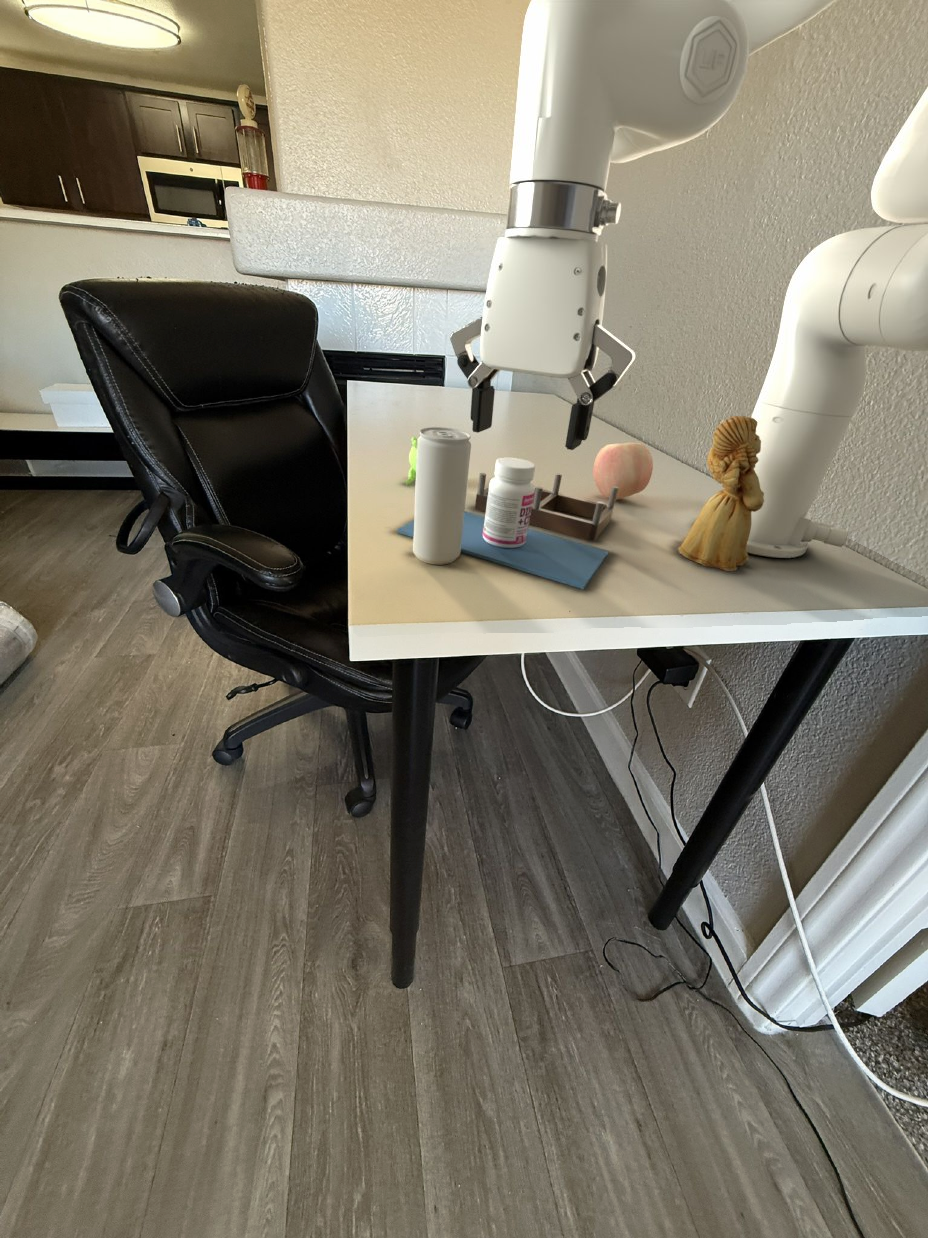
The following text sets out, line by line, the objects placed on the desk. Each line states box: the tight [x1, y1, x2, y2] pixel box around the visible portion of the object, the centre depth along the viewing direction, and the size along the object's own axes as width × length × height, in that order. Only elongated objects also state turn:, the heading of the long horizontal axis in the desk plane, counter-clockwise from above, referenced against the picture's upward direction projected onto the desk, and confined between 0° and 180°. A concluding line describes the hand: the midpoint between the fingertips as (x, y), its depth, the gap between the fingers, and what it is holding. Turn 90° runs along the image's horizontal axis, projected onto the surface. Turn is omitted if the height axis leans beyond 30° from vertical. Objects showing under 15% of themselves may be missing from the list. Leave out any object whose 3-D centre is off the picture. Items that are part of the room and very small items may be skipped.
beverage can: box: [412, 426, 472, 566], centre depth 49 cm, size 5×5×12 cm
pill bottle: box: [483, 457, 536, 548], centre depth 54 cm, size 5×5×8 cm
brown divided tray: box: [474, 472, 619, 542], centre depth 64 cm, size 15×8×4 cm, turn 63°
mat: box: [397, 510, 610, 590], centre depth 57 cm, size 21×10×1 cm, turn 63°
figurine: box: [677, 415, 764, 572], centre depth 55 cm, size 8×8×15 cm
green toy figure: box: [405, 436, 418, 486], centre depth 72 cm, size 6×5×6 cm
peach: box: [592, 442, 654, 501], centre depth 72 cm, size 8×8×8 cm
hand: (526, 438), depth 51 cm, fingers open, 9 cm apart
